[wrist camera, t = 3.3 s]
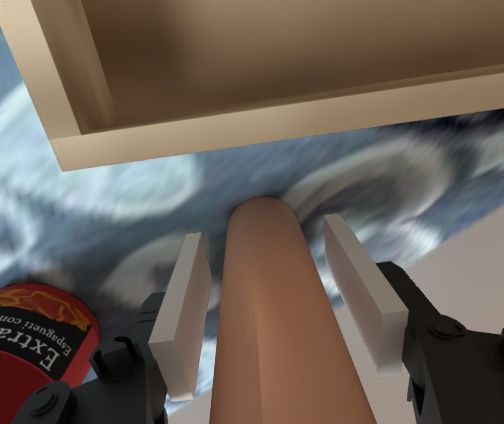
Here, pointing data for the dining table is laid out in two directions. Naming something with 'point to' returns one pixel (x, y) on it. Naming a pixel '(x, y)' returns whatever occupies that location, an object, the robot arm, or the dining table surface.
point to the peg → (279, 330)
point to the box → (245, 70)
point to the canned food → (41, 342)
